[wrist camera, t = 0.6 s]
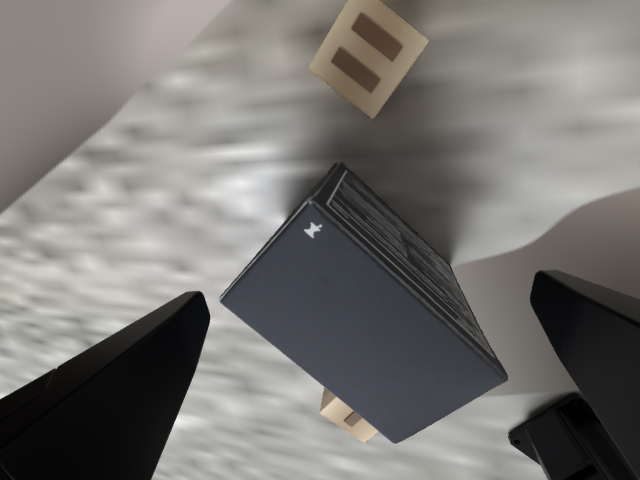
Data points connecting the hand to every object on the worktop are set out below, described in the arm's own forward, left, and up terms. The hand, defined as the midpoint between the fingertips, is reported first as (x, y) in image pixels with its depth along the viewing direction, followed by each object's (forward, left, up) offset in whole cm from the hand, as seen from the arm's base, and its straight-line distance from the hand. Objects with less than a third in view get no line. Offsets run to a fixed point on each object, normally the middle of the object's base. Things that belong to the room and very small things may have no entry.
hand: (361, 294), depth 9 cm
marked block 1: (+5, -6, -13) cm, 15 cm away
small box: (-2, +3, -13) cm, 14 cm away
